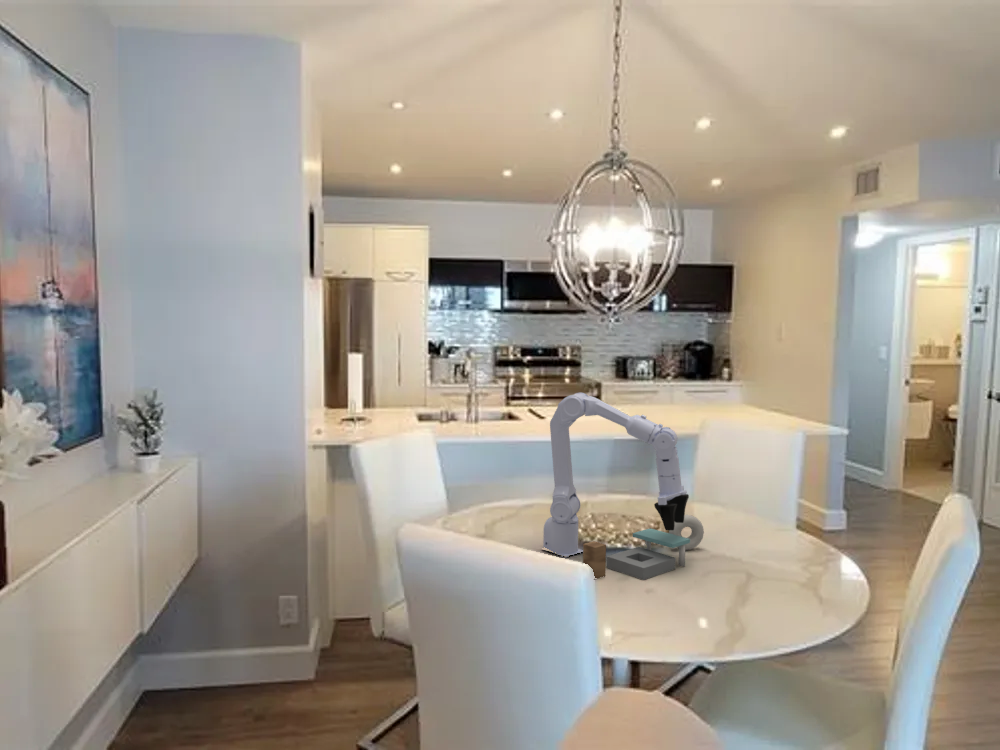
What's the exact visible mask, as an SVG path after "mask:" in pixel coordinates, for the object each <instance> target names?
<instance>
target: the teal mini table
mask: <svg viewBox="0 0 1000 750" xmlns="http://www.w3.org/2000/svg"><path fill="white" fill-rule="evenodd" d="M632 538H636V539H639V540H642V541H645V542H644V545H645V544H646V545H647V548H646V549H648V550H651V551H652V543H653V544H656V545H661V546H664V547H666V548H667V547H668V548H671V549H674V548H677V547H678V546H679V548H678V566H679V567H680V566H683V567H682V568H684V567H686V550H685V544H688V543H690V539H688V538H687V537H684V536H682V537H681V536H677V535H673V534H670V533H669V532H665V531H662V530H659V529H654V528H650V527H649V528H646V529H643V530H638V531H636V532H632Z"/></svg>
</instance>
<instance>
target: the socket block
mask: <svg viewBox="0 0 1000 750" xmlns="http://www.w3.org/2000/svg"><path fill="white" fill-rule="evenodd" d="M606 567H607V568H606V569H609V570H612V571H616V572H618V573H622V574H625V575H627V576H631V577H633V578H637V579H639V580H642V581H645V580H648V579H651V578H653V577H656V576H659V575H662V574H666V573H668V572H670V571H674V570H676V557H674V556H672V555H668V554H665V553H662V552H658V551H655V550H652V549H651V550H648V549H645V547H640V546H637V547H634V548H630V549H627V550H626V549H625V550H624V551H619V552H617V553H613V554H610V555H606ZM673 569H674V570H673Z"/></svg>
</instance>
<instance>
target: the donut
mask: <svg viewBox="0 0 1000 750" xmlns="http://www.w3.org/2000/svg"><path fill="white" fill-rule="evenodd" d="M685 528H689V529H691V532H690V535H689V536H687V537H686V538H688V539H690V543H688V544H685V551H689V550H692V549H693V550H694V549H695V548H696V547H698V546H699V545H700V544H701V542H702V540H703V539H704V534H705V532H704V526H703V524H702V521H700V520H699V518H698V517H696V516H693V515H691V514H685V515H684V522H683V523H675V526H674V530H668V533H670V534H673V535H677V536H681V537H683V536H682V531H683V529H685ZM676 548H678V549H679V546H678V547H676Z"/></svg>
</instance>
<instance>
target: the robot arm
mask: <svg viewBox="0 0 1000 750" xmlns="http://www.w3.org/2000/svg"><path fill="white" fill-rule="evenodd" d="M583 416H585V417H591V416H592V417H593V416H599V417H600V418H601V417H602V418H604V419H606V420H608V421H611V422H612V423H615V424H617V425H619V426H621V427H624V428H625V431H626V433H627V434H628V435H630V436H631V437H633V438H636V439H637V440H639V441H641V442H643V443H645V444H647V445H651V446H652V447H653V449H654V450H655V455H656V457H655V461H656V471H657V478H658V479H657V480H658V486H659V487H658V488H659V492H658V496H657V502H655V503H654V504H653V505H654V508H655V510H656V511H657V513H658V514H659V517H660V518H661V521H662V523H663V528H664V529H665V531H669V530H674V526H675V523H683V522H684V515H686V507H687V502H688V500H689V499H690V498H689V497H690V496H689V495H690V494H688V493H687V490H685V488H684V485H682V480H681V479H682V478H681V469H680V462H679V455H678V448H677V443H678V436H677V432H675V430H673V429H671V427H667V426H666V427H665V426H664V424H661V423H659V424H658V423H656V422H654V421H651V420H650V419H648V418H647V415H645V414H641V415H639V414H635V415H631V416H630V415H629V414H627V413H626V412H623V411H622V410H619V409H618V408H616V407H614V406H612V405H611V404H608V402H607V403H606V402H604V401H602V400H601V399H599V398H597V397H595V396H592V395H588V394H587V393H584V392H581V391H580V392H575V393H574V394H570V395H567V396H566V397H564V398H563V399H562V400H561V401H560V402H559V403H558V404H557V408H556V409H555V411H554V414H553V415H552V417H551V419H550V421H549V429H550V430H549V431H550V432H549V433H550V440H551V454H552V457H551V458H552V469H553V470H552V471H553V479H554V480H553V483H554V487H553V488H554V489H553V492H552V503H551V505H550V508H549V513H550V515H551V516H550V517H548V518H547V519H546V521H545V522H544V524H543V538H542V539H543V541H542V542H543V544H542V545H543V546H542V548H543V547H545V548H547V549H549V550H551V551H553V553H555V552H556V554H558V555H562V556H560V557H561V558H569V555H573V556H575V555H574V554H577V553H580V554H582V553H581V552H583V549H581V548H579V517H578V515H577V513H579V511H580V509H581V501H580V498H579V497H578V495H577V488H576V487H575V484H574V480H573V479H574V478H573V476H574V475H573V465H572V454H571V438H570V427H571V426H572V425H573V424H575V422H576V421H577V420H578V419H580V418H581V417H583ZM558 555H557V556H558ZM577 555H578V554H577ZM563 556H566V557H563Z"/></svg>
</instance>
